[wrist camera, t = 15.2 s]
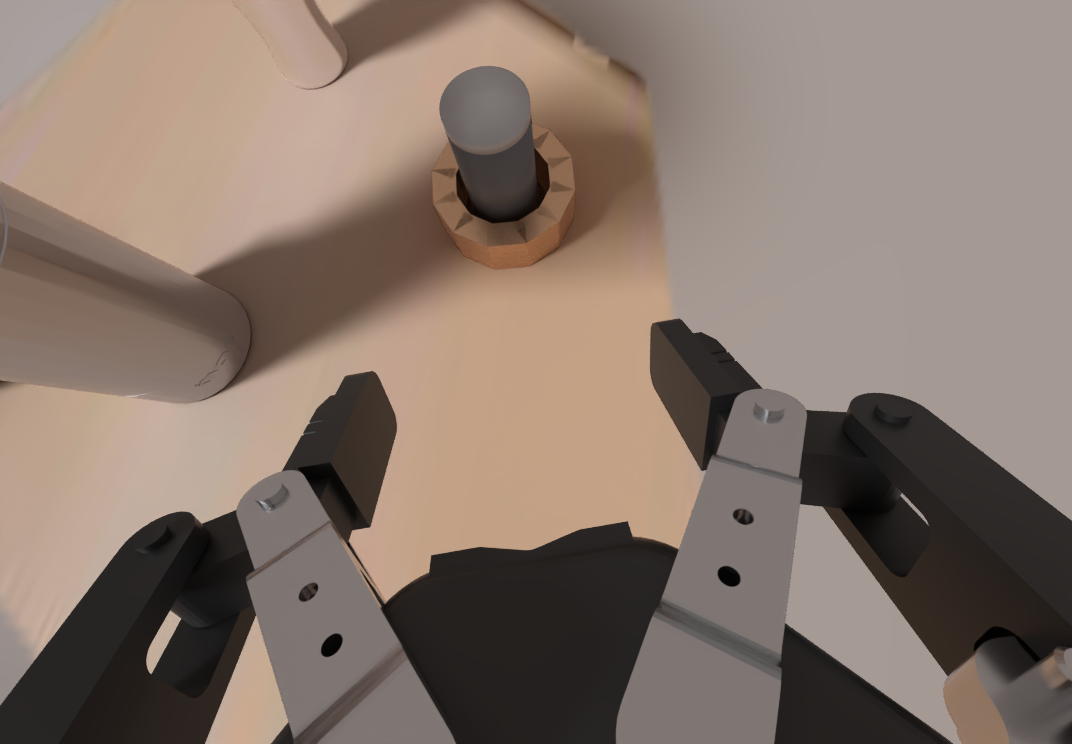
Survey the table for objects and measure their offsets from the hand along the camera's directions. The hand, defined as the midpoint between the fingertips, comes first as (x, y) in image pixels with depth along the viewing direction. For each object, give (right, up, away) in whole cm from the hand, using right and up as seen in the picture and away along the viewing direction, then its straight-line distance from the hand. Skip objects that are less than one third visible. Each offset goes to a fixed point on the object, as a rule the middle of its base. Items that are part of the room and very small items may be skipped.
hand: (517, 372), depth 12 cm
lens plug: (-2, +13, +20) cm, 24 cm away
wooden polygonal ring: (-2, +13, +20) cm, 24 cm away
